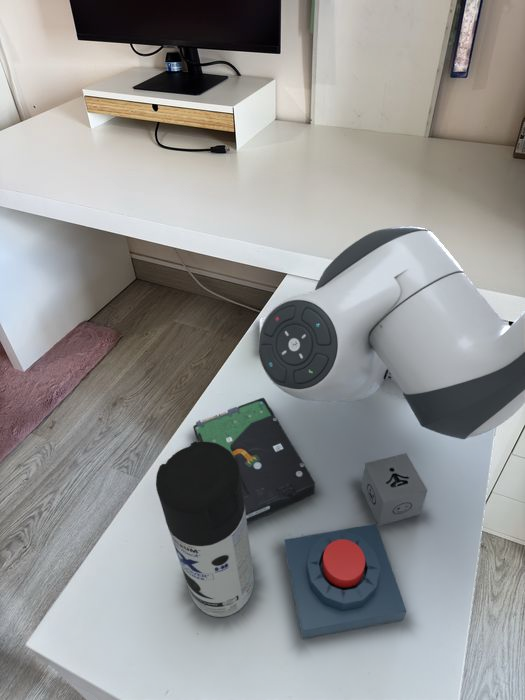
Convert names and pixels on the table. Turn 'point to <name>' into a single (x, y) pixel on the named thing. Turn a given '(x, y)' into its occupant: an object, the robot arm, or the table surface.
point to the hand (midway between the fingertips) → (372, 366)
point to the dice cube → (393, 489)
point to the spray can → (208, 525)
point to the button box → (336, 602)
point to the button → (343, 563)
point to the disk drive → (259, 457)
